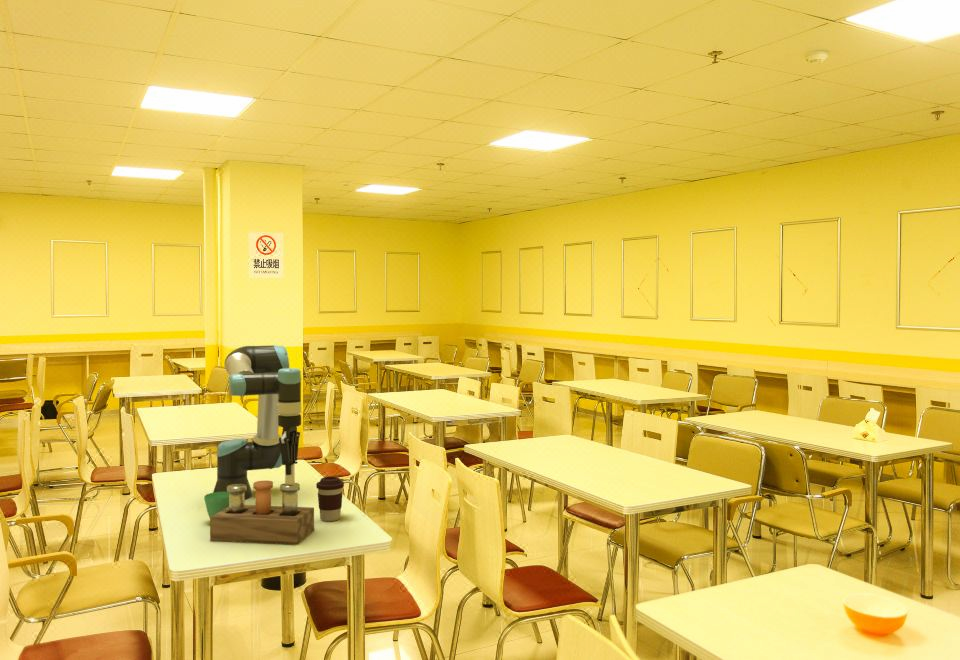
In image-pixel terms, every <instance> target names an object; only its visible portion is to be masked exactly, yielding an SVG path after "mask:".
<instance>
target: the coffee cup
mask: <svg viewBox="0 0 960 660" xmlns="http://www.w3.org/2000/svg"><path fill="white" fill-rule="evenodd" d="M315 486H316V489H317V491H318V492H317V500H318V509H319V519H320V520H321V521H322V522H335V521H338V520H340V519H341V511H342V506H343V504H342V503H343V488H344V487H345V482H344V481H343V480H341V479H340V477H339V476H325V477H322V478H320V480H319V481H317V482H316V485H315Z"/></svg>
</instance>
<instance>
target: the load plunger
mask: <svg viewBox="0 0 960 660" xmlns="http://www.w3.org/2000/svg"><path fill="white" fill-rule="evenodd" d="M252 486H253V490H255V505H256V515H269V514H270V513H271V506H272V489H273V488H274V482H273V481H272V480H258V481H255V482H253V483H252Z"/></svg>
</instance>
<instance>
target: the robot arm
mask: <svg viewBox="0 0 960 660" xmlns="http://www.w3.org/2000/svg"><path fill="white" fill-rule="evenodd" d="M224 368H225V372H227V374H228V375H229V377H228V379H229V380H228V389H229V394H230V395H231V396H233V397H235V396H236V397H237V396H238V397H244V396H257V421H256V422H257V423H256V425H257V427H256V434H254V435H253V437H252V441H248V439H247V438H243V437H242V438H234V439H230V440H225V441H222V442H221V443H219V444H218V445H217V448H216V449H217V450H216V458H217V459H216V465H217V466H216V468H217V469H216V470H217V471H216V473H217V474H216V475H217V476H216V477H217V478H216V482H215V486H214V489H213V491H212V493H215V492H227V486H229V485H232V484H245V485H247V490H246V491H245V492H244V499H245V500H247V499H250V498H251V497H252V493H253V492H252V491H253V490H252V487H251V485H250V484H251V483H250V482H249V479H248V471H258V470H272V469H279V468H280V467H282V466H284V470H285V471H284V472H285V473H284V483H285V484H294V483H296V482H295V479H296V478H295V476H296V474H295V473H296V472H295V465H297V464H298V455H299V443H300V436H301V432H300V431H298V428H297V427H299V426H301V425H302V415H301V413H302V397H301V396H302V395H301V394H302V375H301V370H300V369H299V368H295V367H290V360H289V355H288V351H287V349H286V347H285V346H284V345H274V344H273V345H244V346H240V347H238V348H235V349H233V350H232V351H230V353H229V354H227V355H226V357H225V360H224ZM281 427H282V432H281V434H280V432H279V431H280V429H279V428H281Z"/></svg>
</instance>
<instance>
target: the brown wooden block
mask: <svg viewBox="0 0 960 660" xmlns="http://www.w3.org/2000/svg"><path fill="white" fill-rule="evenodd" d="M314 531H315V507H309V506H298V514H297V515H296V516H282V506H281V505H280V506H279V505H271V513H270V514H269V515H256V504H245V512H244V513H242V514H231V513H229V507H227V508H225V509H223V510H222V511H220V512H218V513H216V514H215V515H213V516H211V517H210V518H209V536H210V537H209V541H210V542H225V543H244V544H246V543H247V544H268V545H269V544H270V545H291V546H297V545H299V544H300V543H301V542H302V541H303V540H304V539H305V538H307V537H308V536H309V535H310V534H312V533H313V532H314Z"/></svg>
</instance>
